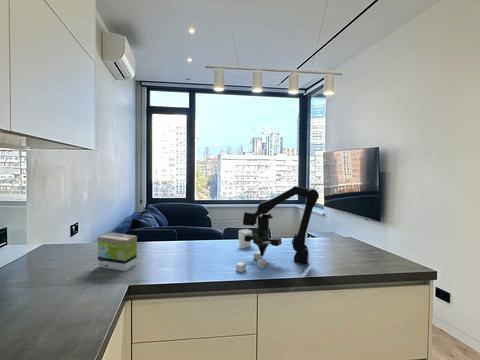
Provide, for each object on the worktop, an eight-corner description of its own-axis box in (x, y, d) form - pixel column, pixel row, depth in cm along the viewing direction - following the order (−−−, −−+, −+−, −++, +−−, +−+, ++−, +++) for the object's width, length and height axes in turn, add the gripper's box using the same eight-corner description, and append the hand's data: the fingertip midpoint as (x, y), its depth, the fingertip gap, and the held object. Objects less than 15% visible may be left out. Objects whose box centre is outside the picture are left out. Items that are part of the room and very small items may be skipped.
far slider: (262, 257, 167) (262, 252, 167) (258, 259, 163) (259, 254, 163) (256, 256, 168) (257, 251, 168) (253, 258, 165) (253, 253, 164)
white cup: (253, 248, 187) (254, 232, 186) (241, 249, 184) (241, 233, 183) (248, 245, 194) (248, 229, 194) (236, 246, 192) (236, 229, 191)
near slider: (245, 269, 149) (245, 263, 149) (241, 272, 146) (242, 265, 145) (239, 268, 150) (240, 262, 150) (235, 270, 147) (236, 264, 147)
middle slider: (265, 265, 155) (265, 259, 155) (262, 267, 152) (262, 261, 152) (259, 264, 157) (260, 258, 156) (256, 266, 153) (256, 260, 153)
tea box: (96, 267, 149) (96, 237, 148) (110, 261, 159) (110, 232, 157) (125, 271, 145) (125, 240, 144) (137, 264, 155) (137, 234, 154)
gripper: (239, 227, 160) (239, 257, 162) (274, 231, 152) (273, 263, 153) (249, 223, 170) (248, 251, 171) (282, 227, 162) (281, 257, 163)
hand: (262, 256), depth 165 cm, fingers closed
